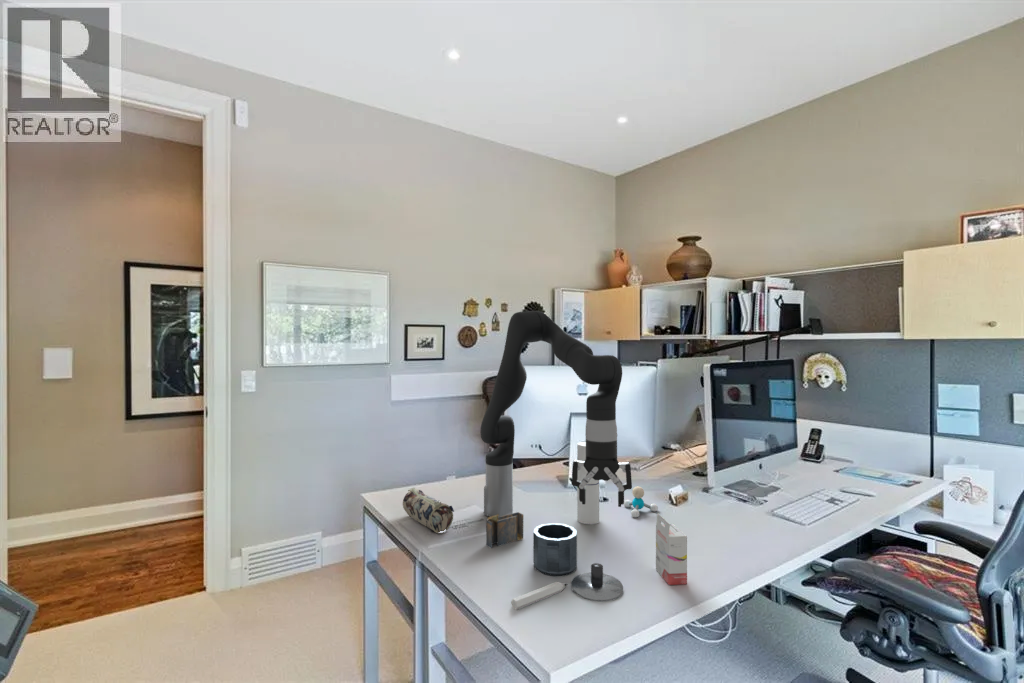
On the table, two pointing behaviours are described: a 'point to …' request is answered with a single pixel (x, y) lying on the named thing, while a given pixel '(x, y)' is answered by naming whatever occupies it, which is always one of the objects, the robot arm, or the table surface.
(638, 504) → the molecule model
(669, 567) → the ink cartridge box
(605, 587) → the lid
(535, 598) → the marker
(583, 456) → the cylindrical container
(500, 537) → the weathered rectangular holder
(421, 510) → the pencil case
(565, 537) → the pot
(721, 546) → the table surface
